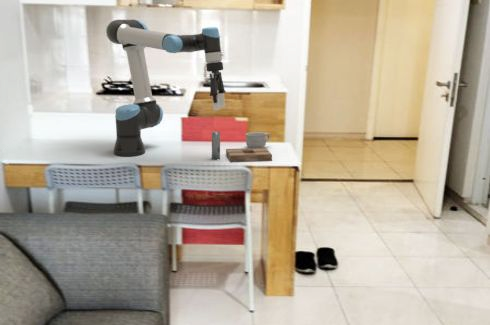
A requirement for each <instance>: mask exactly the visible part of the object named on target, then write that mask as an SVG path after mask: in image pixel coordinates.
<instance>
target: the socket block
mask: <svg viewBox="0 0 490 325" xmlns="http://www.w3.org/2000/svg"><path fill="white" fill-rule="evenodd" d="M226 155H227V156H226ZM225 156H226V157H227V159H228V160H229V162H230V163H241V162H242V163H243V162H244V163H245V162H246V163H247V162H269V161H270V162H272V161H273V154H272V153H271V152H270V150H269V149H267V148H266V147H263V148H249V147H248V148H245V147H244V148H225Z"/></svg>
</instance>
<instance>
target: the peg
mask: <svg viewBox="0 0 490 325" xmlns="http://www.w3.org/2000/svg"><path fill="white" fill-rule="evenodd" d="M213 159H214V161H218V160H217V159H219V160H221V131H211V160H213Z"/></svg>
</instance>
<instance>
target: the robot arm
mask: <svg viewBox="0 0 490 325" xmlns="http://www.w3.org/2000/svg"><path fill="white" fill-rule="evenodd" d="M105 31H106V32H105V33H106V37H107V39H108V40H109V41H110V43H113V44H115V45H122V47H121V48H122V50H123V51H125V52H126V57H127V61H128V68H129V71H130V78H131V84H132V88H133V94H134V98H135V99H134V101H133V102H132V103H130V104H129V103H128V104H123V105H120V106H118V107H117V108H116V109H115V116H114V118H115V131H116V140H115V143H114V146H113V154H114V155H115V156H119V157H135V156H137V157H138V156H140V155H144V154H145V153H146V149H145V148H146V147H145V145H144V142H143V139H142V137H141V136H142V135H141V134H142V133H141V130H145V129H149V128H154V127H156V126H158V125H160V124H161V122H162V120H163V118H164V112H163V108H162V107H161V106H160V104H158V103H157V99H155V98H154V97H153V94H152V88H151V83H150V77H149V70H148V66H147V59H146V55H145V49H146V48H151V49H157V50H160V51H161V50H162V51H165V52H167V53H169V54H177V53H179V54H180V53H194V52H200V51H204V58H205V62H206V72H211V73H209V83H210V84H209V87H210V90H209V92H210V93H209V96H210V97H211V100H212V107H213V111H220V110H221V109H220V108H225V107H226V100H225V94H226V90H225V87H224V82H223V76H222V72H221V71H223V70H224V64H223V62H222V61H223V56H224V54H223V53H222V48H221V40H220V38H221V37H220V32H219V29H218V27H217V26H210V27H203V28H202V29H201V33H195V34H171V33H165V32H160V31H154V30H149V29H148V27H147V25H146V24H145V22H143V21H142V20H137V19H114V20H112V21H110V23H108V24H107V26H106V30H105Z"/></svg>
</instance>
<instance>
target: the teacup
mask: <svg viewBox="0 0 490 325" xmlns="http://www.w3.org/2000/svg"><path fill="white" fill-rule="evenodd" d="M270 138H271V134H270V133H269V132H262V131H261V132H260V131H257V132H256V131H253V132H251V131H250V132H247V133H245V145H246V146H247V147H248V148H265V146H266V145H267V144H266V143H267V142H268V141H270Z"/></svg>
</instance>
